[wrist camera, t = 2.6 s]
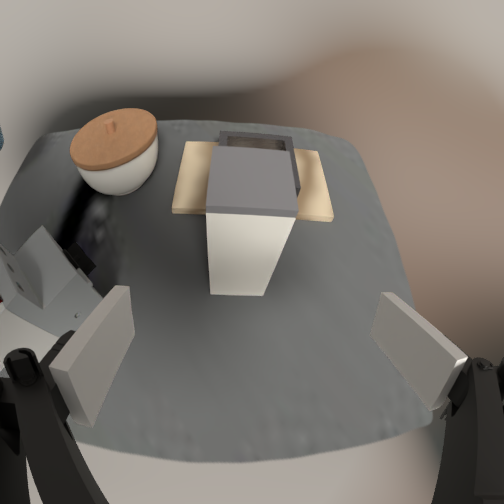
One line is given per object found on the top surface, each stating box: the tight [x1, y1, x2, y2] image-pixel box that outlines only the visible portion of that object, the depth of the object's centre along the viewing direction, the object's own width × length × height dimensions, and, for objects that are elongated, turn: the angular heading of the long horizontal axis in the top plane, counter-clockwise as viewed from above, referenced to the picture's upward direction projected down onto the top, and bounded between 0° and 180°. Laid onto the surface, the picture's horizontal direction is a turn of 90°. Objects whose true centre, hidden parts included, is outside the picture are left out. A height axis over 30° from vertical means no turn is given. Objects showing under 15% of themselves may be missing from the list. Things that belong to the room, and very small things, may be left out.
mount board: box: [172, 142, 334, 222], centre depth 40 cm, size 22×14×1 cm, turn 91°
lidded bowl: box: [70, 108, 158, 196], centre depth 33 cm, size 13×13×11 cm
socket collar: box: [218, 131, 301, 197], centre depth 38 cm, size 11×11×4 cm
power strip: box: [206, 146, 299, 296], centre depth 26 cm, size 6×6×16 cm
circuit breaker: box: [0, 225, 103, 371], centre depth 20 cm, size 8×14×15 cm, turn 143°
